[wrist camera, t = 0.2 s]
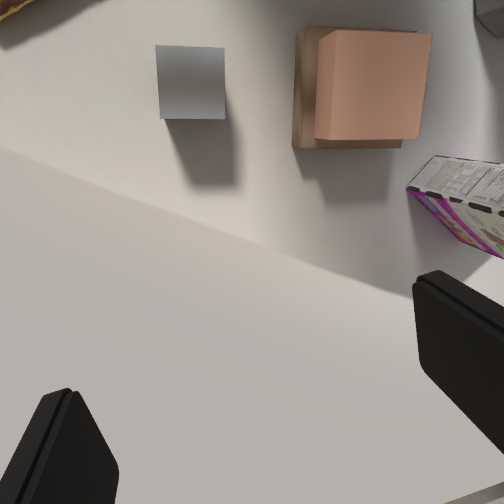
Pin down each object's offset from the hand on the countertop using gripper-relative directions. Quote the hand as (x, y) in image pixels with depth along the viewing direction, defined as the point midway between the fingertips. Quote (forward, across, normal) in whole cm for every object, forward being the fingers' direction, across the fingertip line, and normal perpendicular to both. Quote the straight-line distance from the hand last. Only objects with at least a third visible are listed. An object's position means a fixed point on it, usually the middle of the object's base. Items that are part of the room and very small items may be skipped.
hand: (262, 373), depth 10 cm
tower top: (+26, -16, -5) cm, 31 cm away
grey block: (+30, -2, -9) cm, 31 cm away
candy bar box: (+30, -27, +9) cm, 41 cm away
